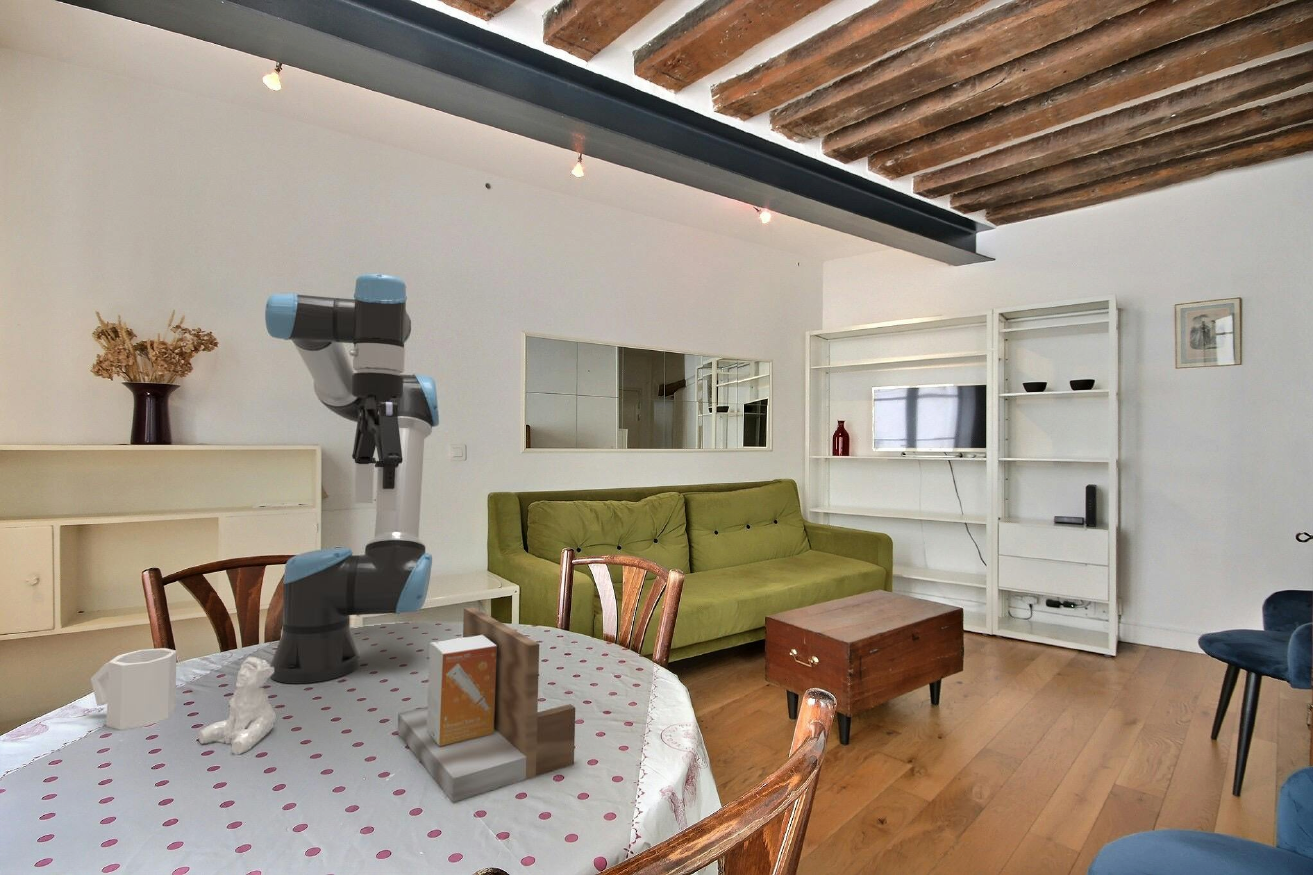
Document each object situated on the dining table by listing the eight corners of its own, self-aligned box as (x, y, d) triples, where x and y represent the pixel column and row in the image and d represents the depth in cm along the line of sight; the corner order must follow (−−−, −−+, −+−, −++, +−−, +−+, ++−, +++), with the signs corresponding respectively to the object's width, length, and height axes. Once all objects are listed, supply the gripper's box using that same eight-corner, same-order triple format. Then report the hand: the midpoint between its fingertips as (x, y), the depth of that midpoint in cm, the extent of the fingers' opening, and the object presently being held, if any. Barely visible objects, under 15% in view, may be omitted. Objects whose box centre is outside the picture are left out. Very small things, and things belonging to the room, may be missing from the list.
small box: (438, 748, 90) (441, 653, 90) (425, 730, 95) (428, 641, 95) (495, 734, 95) (497, 644, 95) (479, 718, 100) (482, 633, 100)
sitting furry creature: (193, 743, 96) (196, 661, 96) (249, 721, 104) (252, 645, 104) (238, 756, 92) (241, 671, 93) (292, 732, 100) (295, 654, 101)
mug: (186, 708, 108) (188, 648, 108) (145, 730, 100) (147, 666, 100) (114, 705, 108) (117, 646, 109) (67, 728, 100) (70, 663, 100)
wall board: (397, 732, 101) (401, 616, 101) (503, 707, 112) (506, 602, 112) (452, 802, 82) (457, 658, 82) (573, 764, 93) (577, 637, 93)
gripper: (335, 376, 111) (331, 500, 111) (373, 364, 92) (369, 515, 91) (381, 380, 116) (378, 499, 116) (427, 369, 96) (423, 513, 96)
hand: (374, 506), depth 104 cm, fingers open, 13 cm apart
